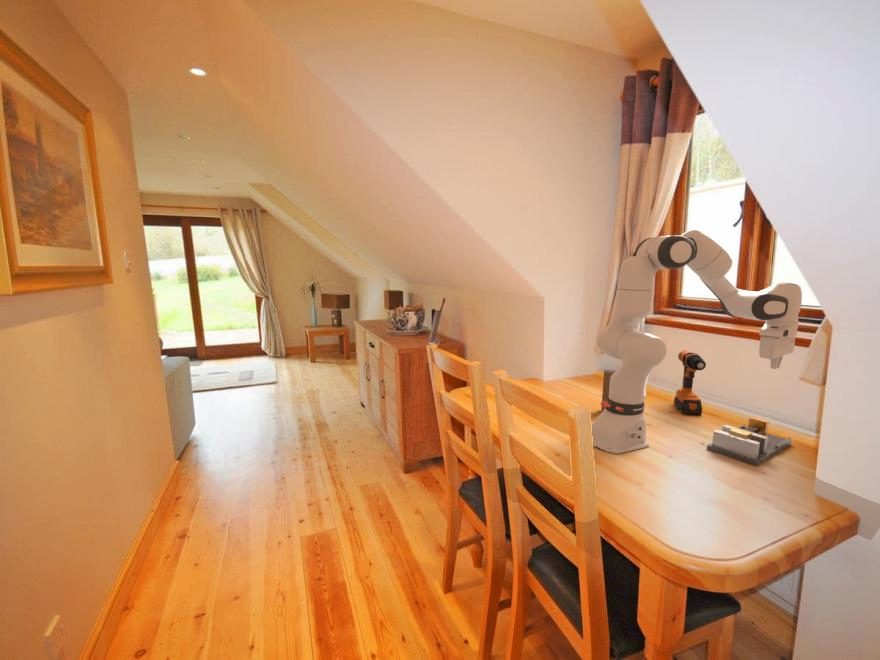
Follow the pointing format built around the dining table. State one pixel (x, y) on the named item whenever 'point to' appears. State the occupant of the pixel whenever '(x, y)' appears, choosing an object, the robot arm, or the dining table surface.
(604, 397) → the brown tall block
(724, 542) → the dining table surface
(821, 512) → the dining table surface
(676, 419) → the dining table surface
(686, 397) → the power drill
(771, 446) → the vise base
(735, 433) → the brass block
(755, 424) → the sliding jaw
